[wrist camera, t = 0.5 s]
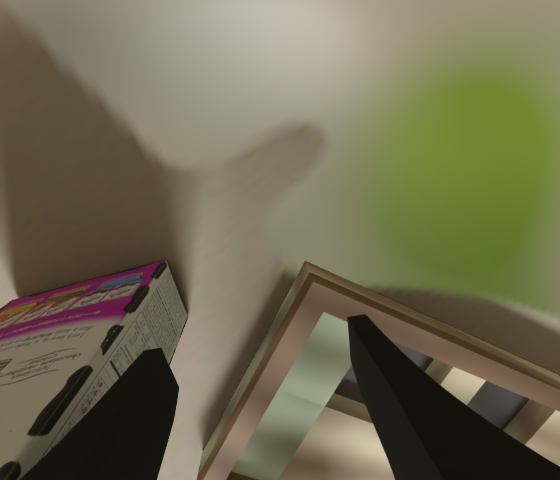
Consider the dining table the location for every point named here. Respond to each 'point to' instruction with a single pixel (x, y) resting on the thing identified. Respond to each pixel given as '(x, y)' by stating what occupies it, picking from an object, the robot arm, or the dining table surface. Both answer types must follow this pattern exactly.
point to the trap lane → (346, 395)
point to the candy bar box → (76, 353)
